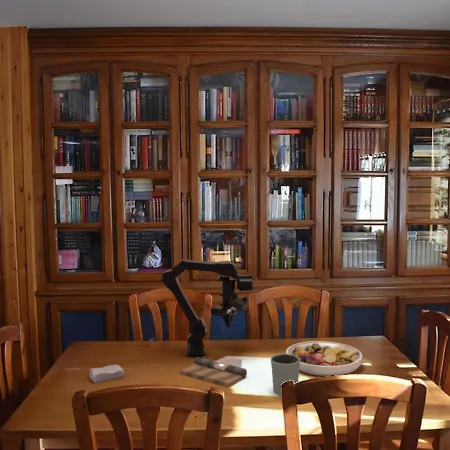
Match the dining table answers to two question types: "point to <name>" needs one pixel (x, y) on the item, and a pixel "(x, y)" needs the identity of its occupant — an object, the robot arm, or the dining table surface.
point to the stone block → (106, 373)
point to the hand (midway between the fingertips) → (228, 327)
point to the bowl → (326, 358)
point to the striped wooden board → (214, 373)
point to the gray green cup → (284, 370)
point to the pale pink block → (225, 363)
